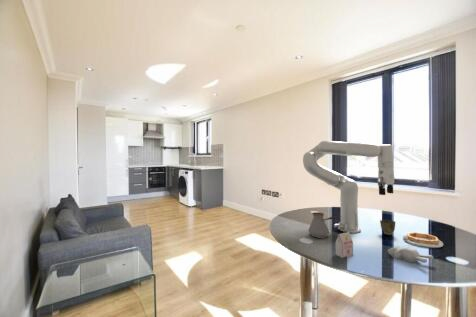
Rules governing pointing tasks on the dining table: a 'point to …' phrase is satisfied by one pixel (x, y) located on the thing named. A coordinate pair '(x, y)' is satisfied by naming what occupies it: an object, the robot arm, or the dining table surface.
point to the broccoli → (387, 226)
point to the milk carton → (344, 245)
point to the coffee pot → (319, 225)
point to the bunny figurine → (408, 254)
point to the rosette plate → (423, 240)
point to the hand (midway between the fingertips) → (386, 193)
